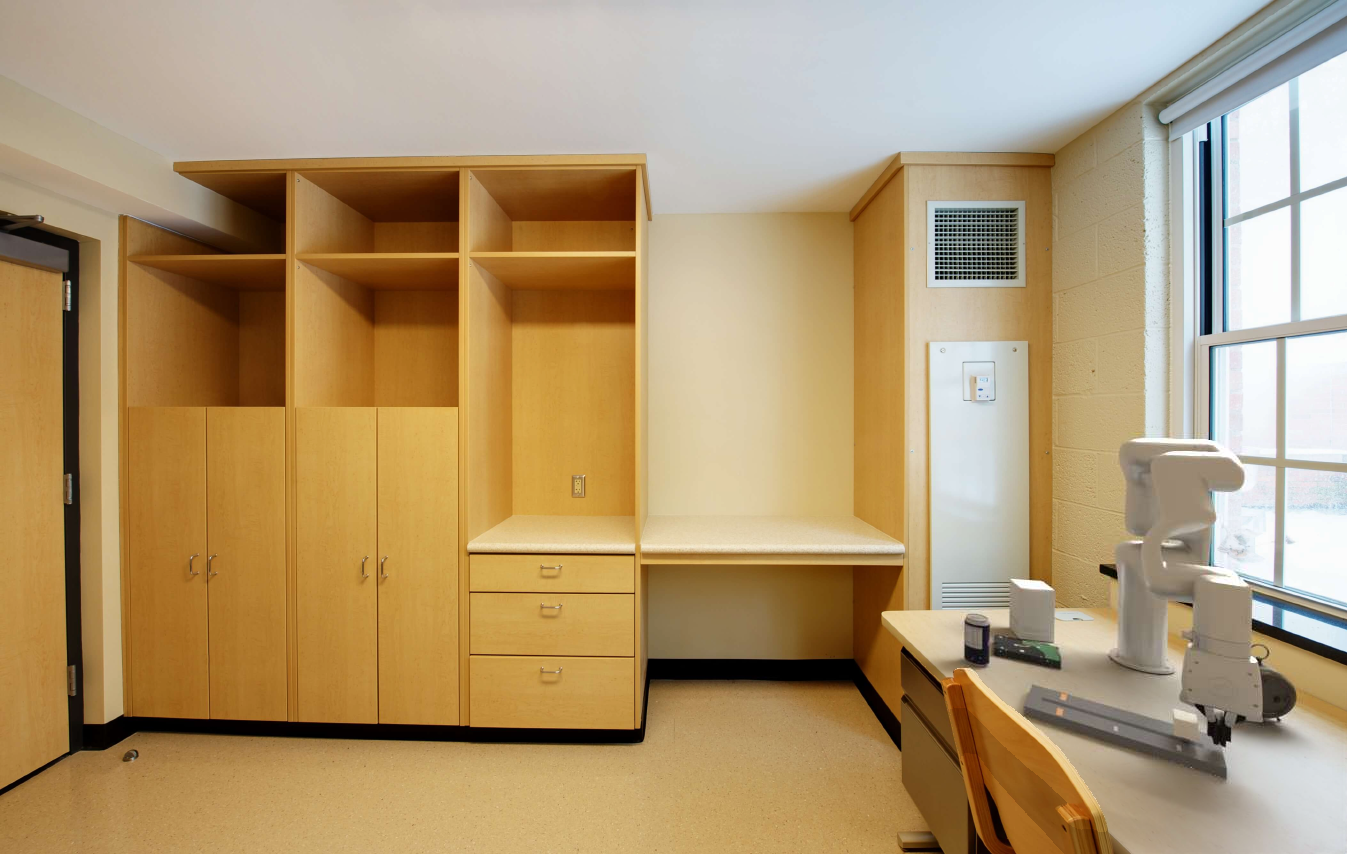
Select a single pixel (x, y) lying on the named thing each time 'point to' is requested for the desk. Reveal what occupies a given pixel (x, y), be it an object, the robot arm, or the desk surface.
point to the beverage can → (976, 640)
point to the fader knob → (1185, 725)
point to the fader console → (1125, 729)
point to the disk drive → (1027, 651)
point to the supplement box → (1032, 610)
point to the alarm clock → (1275, 691)
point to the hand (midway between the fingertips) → (1218, 742)
